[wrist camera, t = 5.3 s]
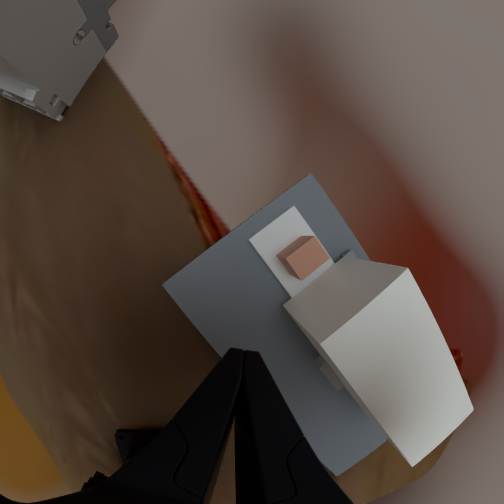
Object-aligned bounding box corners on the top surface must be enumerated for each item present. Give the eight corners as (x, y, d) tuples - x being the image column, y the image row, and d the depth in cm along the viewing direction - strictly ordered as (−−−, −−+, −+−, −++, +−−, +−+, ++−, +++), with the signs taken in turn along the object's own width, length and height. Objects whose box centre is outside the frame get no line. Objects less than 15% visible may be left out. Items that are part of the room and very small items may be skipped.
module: (358, 417, 22) (407, 477, 14) (273, 308, 20) (308, 353, 12) (418, 365, 22) (482, 406, 14) (348, 249, 21) (418, 257, 13)
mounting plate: (333, 469, 23) (350, 501, 19) (164, 282, 21) (150, 295, 16) (436, 386, 24) (466, 406, 19) (306, 175, 22) (329, 161, 17)
